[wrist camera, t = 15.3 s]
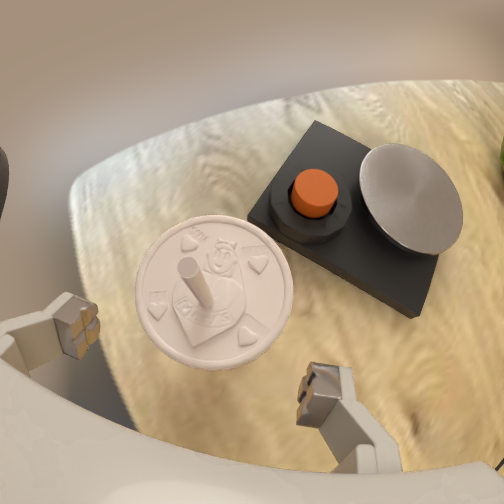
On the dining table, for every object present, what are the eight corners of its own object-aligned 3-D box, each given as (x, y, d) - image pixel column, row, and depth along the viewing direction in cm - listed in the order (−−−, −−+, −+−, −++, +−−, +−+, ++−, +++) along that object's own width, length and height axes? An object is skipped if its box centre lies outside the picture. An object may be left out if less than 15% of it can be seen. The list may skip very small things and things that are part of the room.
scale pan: (337, 210, 20) (340, 206, 20) (376, 130, 23) (379, 125, 23) (446, 279, 19) (451, 277, 18) (464, 188, 22) (468, 184, 21)
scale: (246, 224, 23) (247, 204, 20) (312, 129, 27) (318, 107, 24) (410, 319, 21) (431, 312, 18) (443, 207, 24) (460, 192, 22)
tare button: (283, 204, 21) (286, 191, 19) (302, 175, 22) (306, 161, 20) (321, 226, 20) (327, 214, 19) (337, 195, 21) (344, 182, 20)
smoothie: (168, 349, 19) (49, 324, 6) (195, 265, 22) (138, 131, 9) (257, 376, 19) (290, 411, 6) (281, 288, 21) (340, 174, 8)
